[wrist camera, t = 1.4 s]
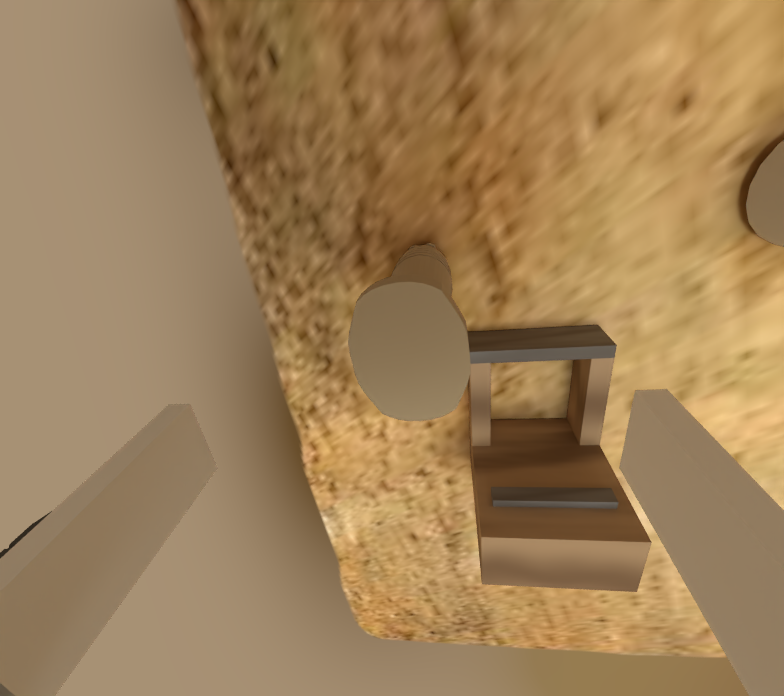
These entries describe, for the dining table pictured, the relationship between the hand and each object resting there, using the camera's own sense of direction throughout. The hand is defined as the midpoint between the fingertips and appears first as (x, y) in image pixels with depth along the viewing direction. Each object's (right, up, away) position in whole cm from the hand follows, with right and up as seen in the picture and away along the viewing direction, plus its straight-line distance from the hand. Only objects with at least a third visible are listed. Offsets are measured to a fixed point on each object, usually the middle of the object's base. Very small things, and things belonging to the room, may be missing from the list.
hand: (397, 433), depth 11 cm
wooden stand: (+12, -3, +22) cm, 25 cm away
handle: (+2, +9, +17) cm, 20 cm away
